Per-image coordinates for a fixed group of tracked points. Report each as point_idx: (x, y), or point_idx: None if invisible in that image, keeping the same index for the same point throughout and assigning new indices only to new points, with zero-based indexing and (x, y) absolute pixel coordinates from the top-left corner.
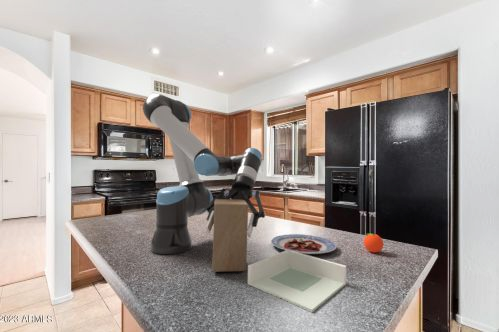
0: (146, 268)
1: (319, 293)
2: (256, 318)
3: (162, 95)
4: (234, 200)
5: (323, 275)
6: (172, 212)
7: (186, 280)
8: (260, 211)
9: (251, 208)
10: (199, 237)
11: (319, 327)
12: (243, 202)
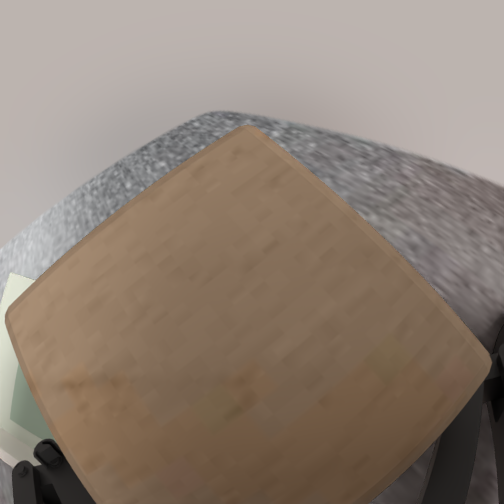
0: (450, 220)
1: (3, 340)
2: (82, 204)
3: None
4: (227, 472)
5: (8, 433)
6: None
7: None
8: (29, 472)
9: (87, 498)
10: None
11: (7, 243)
12: (54, 385)
